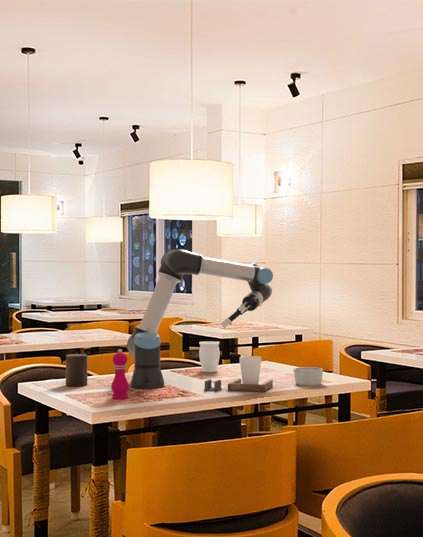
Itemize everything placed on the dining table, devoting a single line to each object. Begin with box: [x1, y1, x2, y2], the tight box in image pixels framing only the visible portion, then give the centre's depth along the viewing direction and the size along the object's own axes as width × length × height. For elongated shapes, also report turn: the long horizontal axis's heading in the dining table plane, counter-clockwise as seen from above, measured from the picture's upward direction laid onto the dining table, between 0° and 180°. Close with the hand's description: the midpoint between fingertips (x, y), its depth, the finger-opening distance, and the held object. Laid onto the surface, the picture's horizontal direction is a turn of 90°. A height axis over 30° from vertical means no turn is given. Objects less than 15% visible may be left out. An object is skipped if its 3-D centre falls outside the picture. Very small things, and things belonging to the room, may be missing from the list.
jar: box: [198, 340, 221, 373], centre depth 384 cm, size 11×10×15 cm
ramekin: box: [293, 366, 324, 387], centre depth 341 cm, size 13×13×7 cm
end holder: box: [227, 378, 274, 393], centre depth 329 cm, size 16×16×3 cm
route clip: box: [203, 379, 223, 392], centre depth 326 cm, size 6×6×4 cm
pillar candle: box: [65, 352, 88, 388], centre depth 342 cm, size 10×10×15 cm
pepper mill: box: [110, 348, 130, 400], centre depth 307 cm, size 7×7×20 cm
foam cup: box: [239, 355, 262, 384], centre depth 329 cm, size 10×9×13 cm
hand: (231, 317), depth 342 cm, fingers open, 13 cm apart
